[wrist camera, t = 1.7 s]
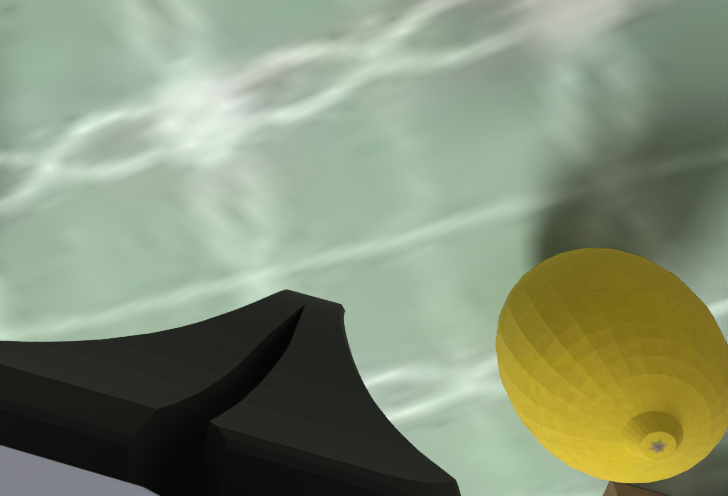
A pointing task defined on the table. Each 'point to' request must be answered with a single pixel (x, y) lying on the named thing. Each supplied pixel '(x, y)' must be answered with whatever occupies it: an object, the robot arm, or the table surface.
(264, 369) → the robot arm
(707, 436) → the lemon
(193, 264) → the table surface
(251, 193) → the table surface
